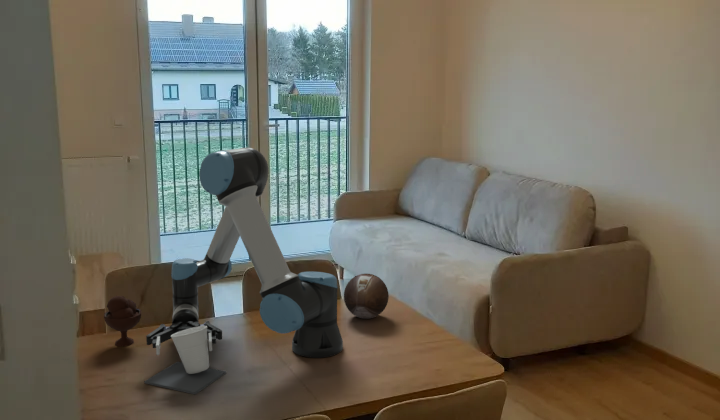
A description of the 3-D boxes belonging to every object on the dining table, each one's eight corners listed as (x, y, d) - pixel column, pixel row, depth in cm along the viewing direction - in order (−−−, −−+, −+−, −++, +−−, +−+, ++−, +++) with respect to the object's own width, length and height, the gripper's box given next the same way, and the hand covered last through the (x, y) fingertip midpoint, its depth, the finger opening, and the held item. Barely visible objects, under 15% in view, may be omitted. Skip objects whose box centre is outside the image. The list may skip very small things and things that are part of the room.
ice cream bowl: (137, 350, 204) (134, 301, 202) (99, 349, 205) (96, 300, 202) (148, 336, 215) (146, 290, 212) (112, 336, 215) (109, 289, 212)
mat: (226, 373, 189) (225, 371, 189) (195, 394, 177) (195, 392, 176) (177, 363, 195) (177, 361, 195) (144, 383, 183) (144, 381, 182)
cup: (223, 363, 189) (214, 323, 189) (200, 375, 181) (191, 334, 180) (196, 366, 194) (187, 328, 194) (172, 378, 185) (162, 338, 185)
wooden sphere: (343, 325, 227) (343, 280, 224) (344, 309, 242) (344, 268, 239) (389, 325, 227) (390, 281, 224) (387, 310, 242) (387, 268, 239)
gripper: (228, 329, 208) (232, 357, 187) (141, 336, 202) (135, 365, 182) (228, 305, 206) (231, 331, 186) (140, 311, 201) (134, 338, 180)
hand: (184, 348), depth 184 cm, fingers open, 13 cm apart
